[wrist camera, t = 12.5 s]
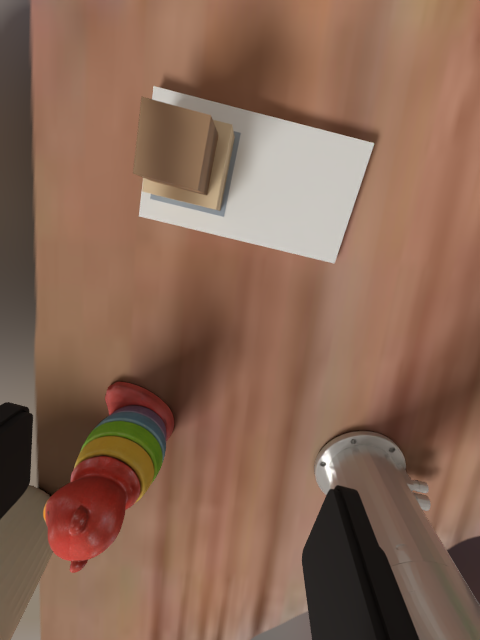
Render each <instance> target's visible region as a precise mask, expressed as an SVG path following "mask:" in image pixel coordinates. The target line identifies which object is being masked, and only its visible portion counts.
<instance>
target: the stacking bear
mask: <svg viewBox="0 0 480 640" xmlns="http://www.w3.org/2000/svg"><path fill="white" fill-rule="evenodd" d="M105 400H106V404H107V406H108V410H109V416H108V417H106V418H105V419H104V420H103V421H101V422H100V423H99V424H98V425H97V426H96V427H95V428H94V429H93V431H92V432H91V433H90V434H89V436H88V437H87V439H86V441H85V443H84V444H83V446H82V449H81V451H80V454H79V456H78V458H77V461H76V463H75V466H74V470H73V472H72V474H71V482H70V483H68V484H67V485H65V486H63V487H62V488H60V489H59V490H58V491H56V492H55V493H54V494H53V495H52V496H51V497H50V498H49V499H48V500H47V502H46V504H45V507H44V510H43V516H44V520H45V522H46V524H47V527H48V542H49V545H50V547H51V549H52V551H53V552H54V553H55V554H56V555H57V556H59V557H60V558H62V559H65V560H69V561H71V565H70V572H73V573H74V572H78V571H80V570H81V569H82V568H83V567H84V566H85V565H86V563H87V561H88V559H91V558H93V557H95V556H97V555H99V554H100V553H102V552H103V551H105V550H106V549H107V548H108V547H109V546H110V545H111V544H112V543H113V541H114V540H115V539H116V537H117V535H118V534H119V532H120V529H121V526H122V523H123V519H124V515H125V510H126V509H128V508H130V507H131V506H132V505H133V504H134V503H136V502H137V501H138V500H139V499H140V498H141V497H142V496H143V495H144V494H145V492H146V491H147V490H148V488H149V486H150V485H151V484H152V482H153V481H154V479H155V478H156V476H157V474H158V472H159V470H160V468H161V465H162V463H163V460H164V455H165V450H166V441H167V440H168V439H169V437H170V436H171V434H172V432H173V428H174V418H173V414H172V412H171V410H170V408H169V407H168V406H167V405H166V404H165V403H164V402H163V401H162V400H161V399H160V398H159V397H157V396H156V395H155V394H153V393H152V392H150V391H148V390H146V389H144V388H142V387H140V386H137V385H134V384H131V383H126V382H115V383H114V384H112V385H110V386H109V387H108V389H107V392H106V396H105Z"/></svg>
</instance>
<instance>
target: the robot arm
mask: <svg viewBox="0 0 480 640" xmlns="http://www.w3.org/2000/svg"><path fill="white" fill-rule="evenodd" d="M32 423H33V415H32V414H31V413H29V409H28V407H25V406H21V405H17V404H13V403H9V402H8V403H4V404H2V405H0V519H1V518H2V517H3V516H4V515H5V514H6V513H7V512H8V511H9V510H10V508H11V507H12V506H13V505H14V504H15V503H16V502H17V501H18V500H19V498H20V497H21V496H22V495H23V494H24V493H25V491H26V490H27V488H28V486H29V483H30V469H31V445H32ZM314 472H315V477H316V481H317V483H318V485H319V487H320V489H321V490H322V491H323V492H324V493H325V494H326V498H325V500H324V502H323V505H322V507H321V509H320V512H319V514H318V516H317V519H316V521H315V523H314V526H313V528H312V530H311V533H310V535H309V537H308V540H307V542H306V544H305V547H304V549H303V554H302V566H303V573H304V581H305V589H306V596H307V604H308V611H309V619H310V626H311V633H312V640H480V605H479V604H478V602H477V600H476V599H475V597H474V595H473V594H472V592H471V591H470V589H469V587H468V585H467V584H466V582H465V581H464V579H463V577H462V576H461V574H460V572H459V571H458V569H457V567H456V566H455V564H454V562H453V560H452V559H451V557H450V556H449V554H448V552H447V550H446V549H445V547H444V545H443V544H442V542H441V540H440V539H439V537H438V535H437V534H436V532H435V530H434V528H433V527H432V525H431V523H430V522H429V520H428V518H427V517H426V515H425V513H424V512H423V510H425V511H428V510H429V509H430V500H429V498H428V497H427V496H426V495H422V494H418V493H413V492H412V491H413V490H415V491H418V492H422V493H427V492H428V490H429V489H428V485H427V483H426V482H422V481H418V480H411V478H410V477H409V476H408V474H407V473H406V462H405V458H404V456H403V453H402V452H401V450H400V449H399V447H398V446H397V445H396V444H395V443H394V442H393V441H392V440H391V439H389V438H388V437H386V436H384V435H381V434H379V433H375V432H370V431H357V432H350V433H346V434H343V435H341V436H338V437H336V438H334V439H333V440H331V441H330V442H328V443H327V444H326V445H325V446H324V447H323V448H322V450H321V451H320V452H319V454H318V456H317V458H316V461H315V465H314Z"/></svg>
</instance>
